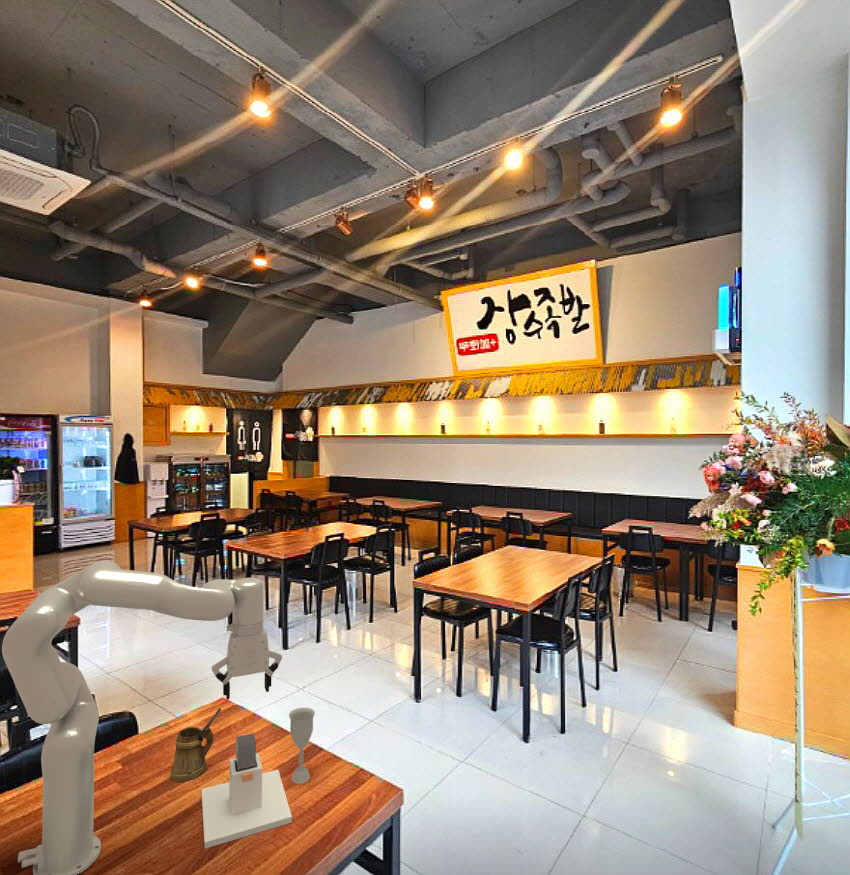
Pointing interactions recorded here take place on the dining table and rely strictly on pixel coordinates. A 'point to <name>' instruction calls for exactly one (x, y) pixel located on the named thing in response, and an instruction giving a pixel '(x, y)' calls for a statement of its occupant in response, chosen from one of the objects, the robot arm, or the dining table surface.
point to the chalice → (301, 738)
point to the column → (245, 752)
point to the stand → (244, 805)
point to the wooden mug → (192, 751)
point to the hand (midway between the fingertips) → (247, 693)
